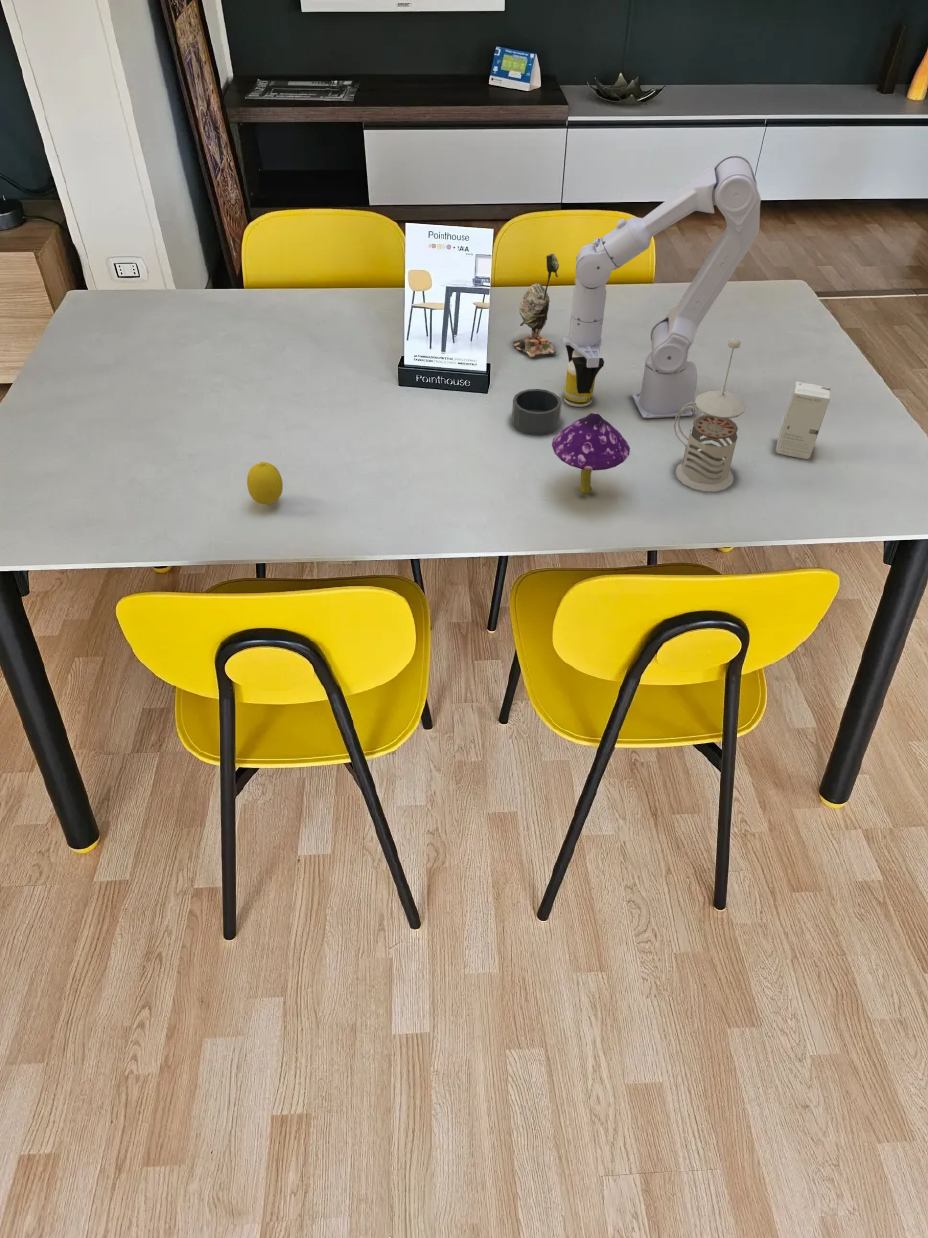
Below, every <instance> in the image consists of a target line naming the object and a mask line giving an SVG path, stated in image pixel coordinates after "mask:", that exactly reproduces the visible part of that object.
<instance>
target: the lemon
mask: <svg viewBox="0 0 928 1238" xmlns="http://www.w3.org/2000/svg"><path fill="white" fill-rule="evenodd" d="M283 484H284V483H283V479H282V476H281V474H280V471H279V470H278V468H277V467H276V466H275V465H274V464H272V463H270V462H265V461H259V462H258V463H255V464H254V465H252V467H251V468H250V469H249V470H248V473H247V476H246V486H247V491H248V493H249V496H250V497H251V498H252V499H253V500H254V501H255V502H256V503H258V504H260V505H265V506H270V505H271V504H274V503H276V502H277V501H278V500H279V499H280V498H281V496H282V493H283V488H284V487H283V486H284V485H283Z"/></svg>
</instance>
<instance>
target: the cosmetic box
mask: <svg viewBox="0 0 928 1238" xmlns="http://www.w3.org/2000/svg"><path fill="white" fill-rule="evenodd" d="M831 390H832V389H831V387H828V386H823V385H819V384H814V383H807V382H801V381H795V382H794V385H793V388H792V393H791V395H790V398H789V401H788V405H787V408H786V411H785V415H784V418H783V421H782V425H781V428H780V431H779V434H778V438H777V441H776V448H775V453H776V454H778V455H783V456H787V457H793V458H798V459H802V460H809V459H811V457H812V453H813V450H814V448H815V444H816V441H817V439H818V435H819V433H820V429H821V428H822V427H821V426H822V423H823V421H824V418H825V415H826V412H827V409H828V406H829V405H830V400H831V392H832V391H831Z"/></svg>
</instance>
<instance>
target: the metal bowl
mask: <svg viewBox="0 0 928 1238" xmlns="http://www.w3.org/2000/svg"><path fill="white" fill-rule="evenodd" d="M561 412H562V399H561V398H560V396H559V395H558V394H556V393H555V392H552V391H550V390H547V389H541V388H528V389H524V390H522V391H519V392H518V393H516V394H515V395H514V396H513V399H512V408H511V424H512V426H513V427H514V428H515V430H517V431H518V432H520V433H523V434H525V435H531V436H544V435H550V434H552V433H554V432H555V431H556V430H558V428H559V426H560V422H561Z"/></svg>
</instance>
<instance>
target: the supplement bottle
mask: <svg viewBox="0 0 928 1238" xmlns="http://www.w3.org/2000/svg"><path fill="white" fill-rule="evenodd" d="M572 357H583V355H581V354H580V353H579V352H578V351H576V350H574V351H573V354H572ZM565 374H566V375H565V376H566V377H565V384H564V392H563V394H564V395H563V400H564V402H565V403H566V404H567V405H568V406H571V407H577V408H583V407H587V406H589V405H590V404H592V402H593V399H594V397H593V396H594V390H595V383H596V378H595V379H594V382H593V384H592V387H591V389H590V392H589V393H581V394H579V393H578V391H577V384H576V370H575V366H574V363H573V361H572V360H571V361H570V362H569V361H568V363H567V366H566V373H565Z"/></svg>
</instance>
